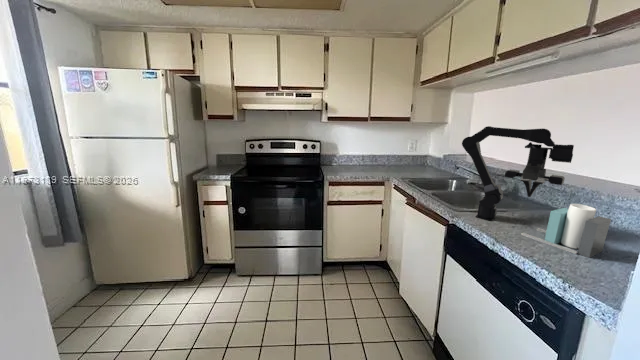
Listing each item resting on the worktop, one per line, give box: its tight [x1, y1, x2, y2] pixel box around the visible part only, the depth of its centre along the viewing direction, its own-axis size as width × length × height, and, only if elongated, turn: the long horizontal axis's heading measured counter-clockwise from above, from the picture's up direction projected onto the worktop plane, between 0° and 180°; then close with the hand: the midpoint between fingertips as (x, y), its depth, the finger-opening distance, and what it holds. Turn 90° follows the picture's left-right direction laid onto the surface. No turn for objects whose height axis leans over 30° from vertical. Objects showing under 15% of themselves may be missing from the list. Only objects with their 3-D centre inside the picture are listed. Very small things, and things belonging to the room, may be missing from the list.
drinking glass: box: [560, 203, 597, 250], centre depth 95 cm, size 7×7×15 cm
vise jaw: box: [544, 207, 569, 245], centre depth 99 cm, size 3×10×12 cm, turn 117°
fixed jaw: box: [521, 216, 612, 259], centre depth 98 cm, size 20×12×12 cm, turn 27°
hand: (529, 196), depth 112 cm, fingers closed
